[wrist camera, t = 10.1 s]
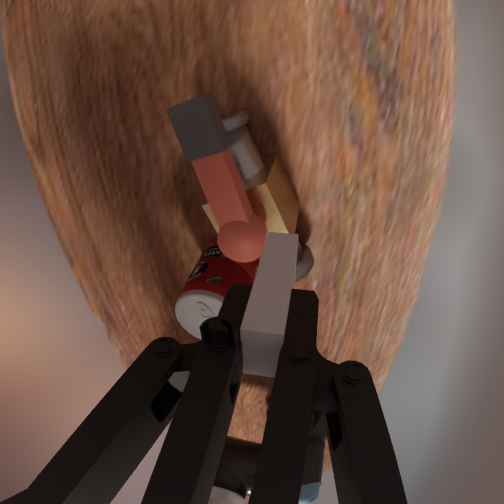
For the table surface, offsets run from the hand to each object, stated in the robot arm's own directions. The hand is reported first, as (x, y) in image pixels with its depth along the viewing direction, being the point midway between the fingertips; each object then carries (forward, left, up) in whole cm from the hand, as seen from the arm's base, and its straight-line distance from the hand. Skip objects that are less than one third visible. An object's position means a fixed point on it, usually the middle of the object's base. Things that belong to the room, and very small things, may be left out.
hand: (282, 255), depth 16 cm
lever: (+2, +5, -10) cm, 12 cm away
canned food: (-11, +14, -19) cm, 26 cm away
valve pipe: (-3, +6, -19) cm, 20 cm away
